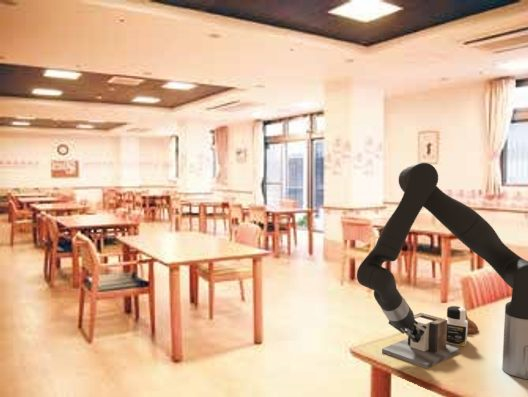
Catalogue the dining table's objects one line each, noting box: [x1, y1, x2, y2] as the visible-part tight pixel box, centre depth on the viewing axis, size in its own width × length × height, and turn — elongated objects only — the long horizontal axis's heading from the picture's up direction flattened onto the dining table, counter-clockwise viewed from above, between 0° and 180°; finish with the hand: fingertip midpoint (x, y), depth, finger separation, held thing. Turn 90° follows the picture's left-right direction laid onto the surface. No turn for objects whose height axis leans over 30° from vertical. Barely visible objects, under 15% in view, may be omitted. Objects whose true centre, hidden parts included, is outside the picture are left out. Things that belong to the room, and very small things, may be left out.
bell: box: [466, 312, 479, 335], centre depth 177 cm, size 12×12×7 cm
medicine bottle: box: [445, 305, 468, 347], centre depth 164 cm, size 7×7×12 cm
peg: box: [410, 317, 433, 352], centre depth 154 cm, size 5×5×9 cm
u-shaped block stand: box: [381, 312, 460, 369], centre depth 154 cm, size 20×16×10 cm
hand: (416, 339), depth 152 cm, fingers closed
